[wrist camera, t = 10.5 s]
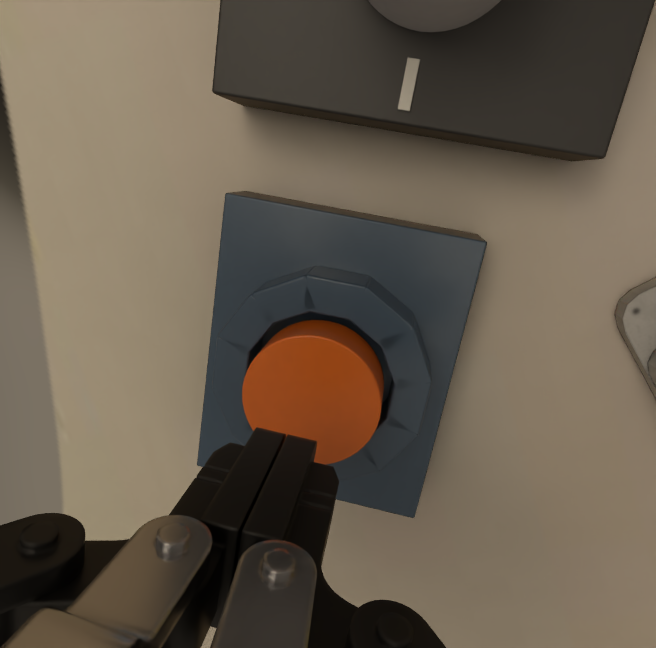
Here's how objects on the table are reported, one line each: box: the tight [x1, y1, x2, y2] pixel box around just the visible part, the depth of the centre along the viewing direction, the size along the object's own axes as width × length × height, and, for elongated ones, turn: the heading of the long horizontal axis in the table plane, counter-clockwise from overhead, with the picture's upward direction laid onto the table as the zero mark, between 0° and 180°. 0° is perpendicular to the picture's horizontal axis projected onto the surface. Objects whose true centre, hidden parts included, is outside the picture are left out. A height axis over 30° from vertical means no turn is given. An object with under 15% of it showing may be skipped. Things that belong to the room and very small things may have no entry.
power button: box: [242, 320, 384, 465], centre depth 17 cm, size 4×4×2 cm
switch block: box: [197, 191, 487, 518], centre depth 19 cm, size 11×9×4 cm
